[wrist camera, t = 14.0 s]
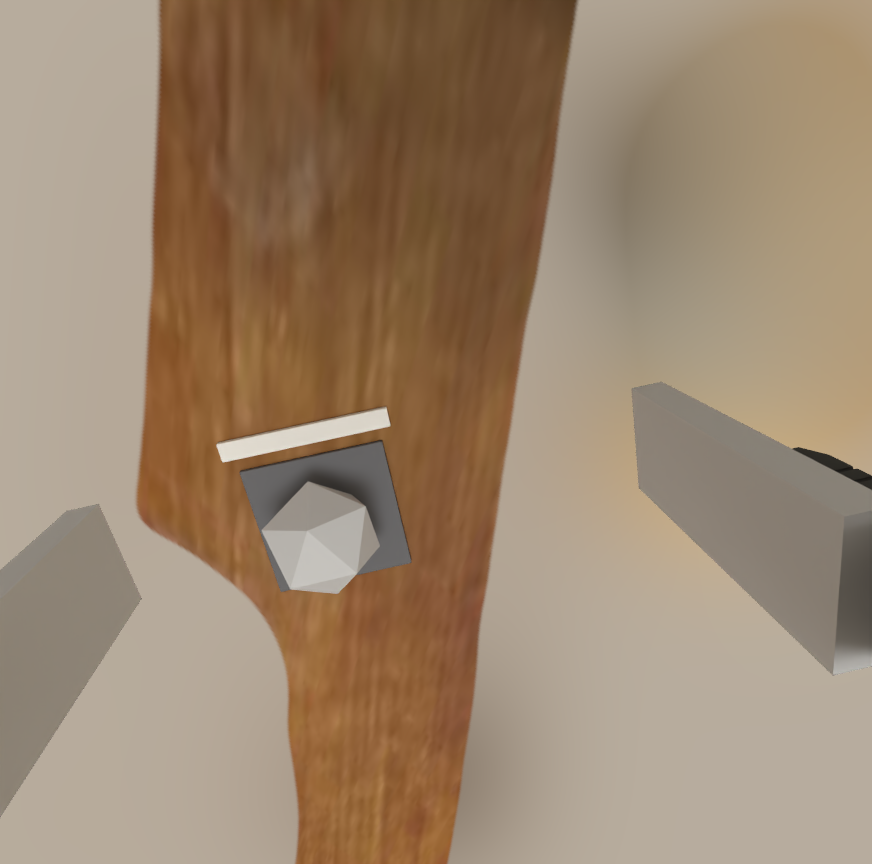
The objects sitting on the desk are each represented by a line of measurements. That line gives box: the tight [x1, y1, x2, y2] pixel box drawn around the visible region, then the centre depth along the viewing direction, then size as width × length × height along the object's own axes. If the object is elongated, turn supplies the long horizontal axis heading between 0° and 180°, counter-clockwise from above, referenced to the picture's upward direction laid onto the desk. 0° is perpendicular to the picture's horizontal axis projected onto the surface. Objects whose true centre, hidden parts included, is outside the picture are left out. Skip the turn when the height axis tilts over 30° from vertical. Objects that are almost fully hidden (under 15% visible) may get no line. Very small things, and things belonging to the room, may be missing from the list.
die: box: [261, 482, 380, 594], centre depth 45 cm, size 8×9×10 cm
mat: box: [216, 406, 411, 592], centre depth 48 cm, size 14×15×1 cm
